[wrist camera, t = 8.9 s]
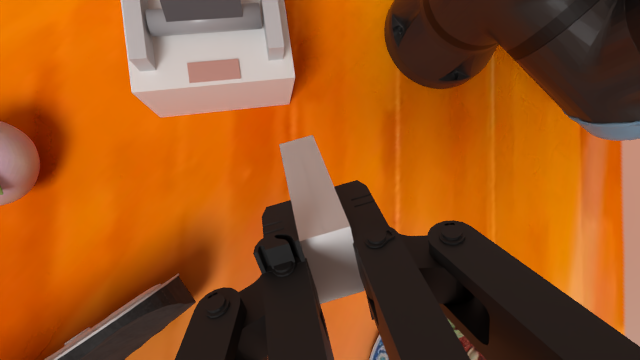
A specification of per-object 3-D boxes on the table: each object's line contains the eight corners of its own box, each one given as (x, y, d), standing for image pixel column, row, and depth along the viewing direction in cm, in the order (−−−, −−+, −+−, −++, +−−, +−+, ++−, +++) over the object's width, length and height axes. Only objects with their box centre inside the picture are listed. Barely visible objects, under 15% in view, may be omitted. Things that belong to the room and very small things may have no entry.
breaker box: (289, 104, 49) (297, 66, 36) (160, 117, 46) (119, 82, 33) (276, 14, 49) (280, -54, 36) (148, 23, 47) (104, -47, 34)
